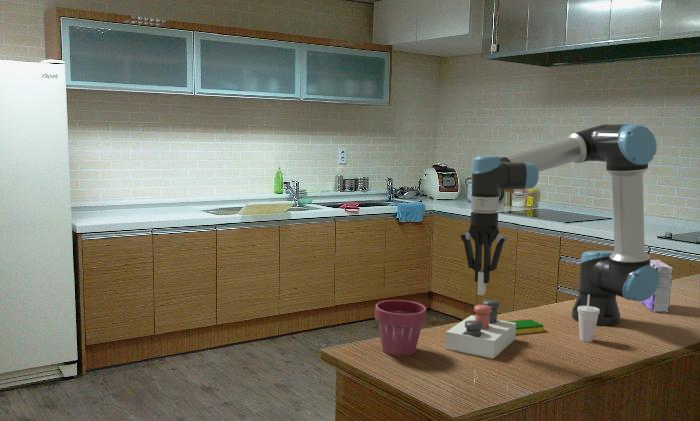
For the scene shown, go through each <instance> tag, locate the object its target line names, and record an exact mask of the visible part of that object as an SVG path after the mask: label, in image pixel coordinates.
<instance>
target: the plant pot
mask: <svg viewBox="0 0 700 421" xmlns="http://www.w3.org/2000/svg"><path fill="white" fill-rule="evenodd" d="M374 308H375V310H374V319H375V321H377V323H378V330H379V336H380V342H381V348H382V352H384V353H385V354H387V355H390V356H393V355H394V356H395V357H407V356H406V355H409V356H412V355H414V354H415V353H416V351H417V350H416V349H417V346H418V343H419V338H420V335H421V330H422V327H423V324H425V323H426V319H427V308H426V306H425V305H423V304H422V303H419V302H415V301H411V300H403V299H389V300H382V301H379V302H377V303H376V304H375V307H374ZM413 353H414V354H413ZM411 354H412V355H411Z"/></svg>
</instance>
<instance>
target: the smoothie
mask: <svg viewBox="0 0 700 421" xmlns="http://www.w3.org/2000/svg"><path fill="white" fill-rule="evenodd" d="M589 299H590V295H589V294H588V300H587V306H579V307H577V311H578V317H579V321H578V328H579V330H578V331H579V332H578V333H579V341H581V340H582V341H581V342H585V341H586V343H591V342H594V336H595V332H596V329H597V328H596V327H597V325H596V324H597V319H598V314H599V313H600V309H598V308H596V307H592V306H589Z"/></svg>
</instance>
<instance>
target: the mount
mask: <svg viewBox="0 0 700 421" xmlns="http://www.w3.org/2000/svg"><path fill="white" fill-rule="evenodd" d="M469 320H474V321H475V315H472V314H471V315H470V316H468V317H466V318H465V319H463V320H462V321H460V322H458V323H457V324H455V325H454V326H452V327H451V328H450V329H449V328H448V330H446V331H445V346H444V348H445V350H449V351H454V352H458V353H463V354H469V355H474V356H478V357H482V358H483V357H484V358H487V359H492V360H493V359H495V358H496V357H497V356H498V355H499V354H501V353H502V352H503V351H504V350H505V349H506V348H508V346H510V345H511V344H512V343H513V342H514V341H515V340H516V335H517V334H516V323H513V322H507V321H508V320H507V321H506V320H502V319H501V320H500V319H497V323H489V329H481V336H480V337H474V336H469V335H466V328H465V321H469Z"/></svg>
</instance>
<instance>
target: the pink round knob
mask: <svg viewBox="0 0 700 421" xmlns="http://www.w3.org/2000/svg"><path fill="white" fill-rule="evenodd" d="M473 312H475V315H474V316H475V321H480V322H482V323H483V329H489V318H490V313H491V312H492V307H491V306H488V305H482V304H476V305H473Z"/></svg>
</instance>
